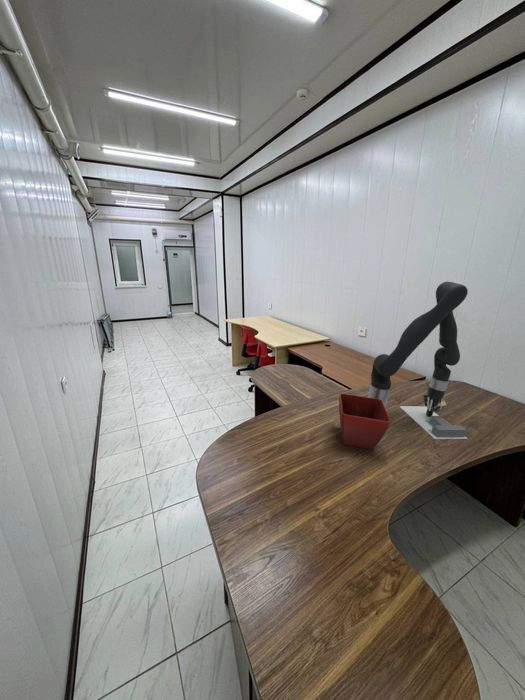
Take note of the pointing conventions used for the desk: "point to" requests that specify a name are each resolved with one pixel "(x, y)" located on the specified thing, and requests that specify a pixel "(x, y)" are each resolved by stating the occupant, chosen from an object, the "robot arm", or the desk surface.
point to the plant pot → (362, 420)
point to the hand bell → (443, 401)
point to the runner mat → (423, 419)
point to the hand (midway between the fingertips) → (428, 416)
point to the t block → (445, 428)
